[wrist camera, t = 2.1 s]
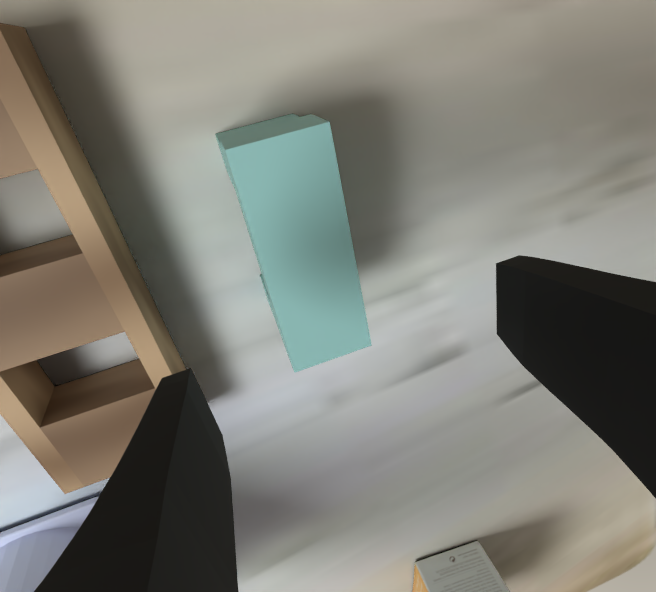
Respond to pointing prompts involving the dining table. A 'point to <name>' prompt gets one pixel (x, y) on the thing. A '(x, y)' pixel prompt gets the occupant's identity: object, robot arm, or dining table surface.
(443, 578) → the small box
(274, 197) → the teal block
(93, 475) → the rail
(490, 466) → the dining table surface
